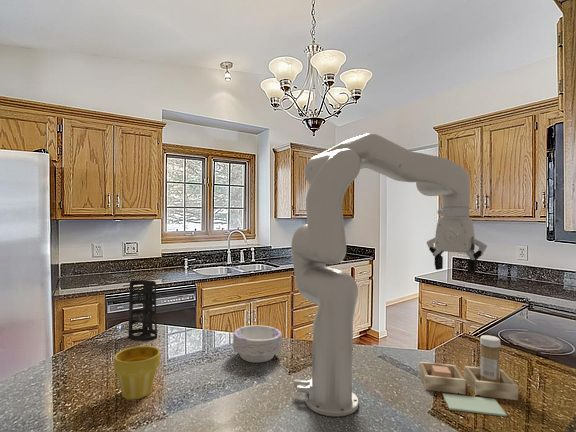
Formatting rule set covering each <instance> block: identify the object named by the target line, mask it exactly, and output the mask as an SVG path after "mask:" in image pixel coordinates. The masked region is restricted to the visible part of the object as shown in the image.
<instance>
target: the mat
mask: <svg viewBox="0 0 576 432" xmlns="http://www.w3.org/2000/svg"><path fill="white" fill-rule="evenodd" d="M442 397H443V399H444V401H445V403H446V406H447V407H448V409H449V410H450V411H458V412H464V413H465V412H466V413H473V414H475V413H476V414H482V415H491V416H498V417H507V416H508V414H507V412H506V411H505V410H504V409H503V408H502V407H501V405H500V403H498V401H497V400H496V398H490V397H481V396H471V395H463V394H455V393H452V394H451V393H446V392H442Z"/></svg>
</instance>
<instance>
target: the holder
mask: <svg viewBox="0 0 576 432" xmlns="http://www.w3.org/2000/svg"><path fill="white" fill-rule="evenodd" d="M137 285H143V286H142V287H143V289H142V290H134V287H135V286H137ZM128 294H129V298H128V299H129V303H128V339H131V340H137V341H151V340H152V341H153V340H156V339H157V338H158V326H157V325H158V323H157V321H158V320H157V282H156V281H155V280H145V279H144V280H143V279H141V280H131V281H129V293H128ZM134 295H137V299H136V300H135V299H134ZM137 304H138V305H140V304H141V305H142V309H133V308H134V307H133V306H135V305H137ZM135 314H136V319H133V315H135ZM139 323H142V326H141V328H136V329H135V328H134V329H133V325H134V324H139ZM153 325H154V328H153ZM134 334H137V335H134ZM150 335H152V336H150Z"/></svg>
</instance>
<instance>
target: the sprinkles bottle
mask: <svg viewBox="0 0 576 432" xmlns="http://www.w3.org/2000/svg"><path fill="white" fill-rule="evenodd" d="M479 343H480V368H481V381H488V382H498V383H499V378H500V369H501V367H500V357H501V356H500V355H501V354H500V348H501V339H500V338H499V337H497V336H495V335H494V336H493V335H488V334H487V335H486V334H485V335H484V334H483V335H481V336H480V342H479Z"/></svg>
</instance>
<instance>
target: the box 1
mask: <svg viewBox="0 0 576 432" xmlns="http://www.w3.org/2000/svg"><path fill="white" fill-rule="evenodd" d="M432 365H434V366H444V367H448V369H449V371H450V372H451V378H450V377H440V376H431V374H432ZM418 375H419V377H420V379H421V383H422V385H423V388H424V390H425V391H431V390H433V391H432V392H440V391H442V392H441V393H448V394H451V393H452V394H458V393H459V394H458V395H466V386H467V385H466V383H467V382H466V380H465V379H464V375H462V373H461V371H460V370H459V368H458V366H457V365H456V364H448V363H447V364H446V363H438V362H437V363H436V362H428V361H427V362H426V361H419V362H418Z"/></svg>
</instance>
